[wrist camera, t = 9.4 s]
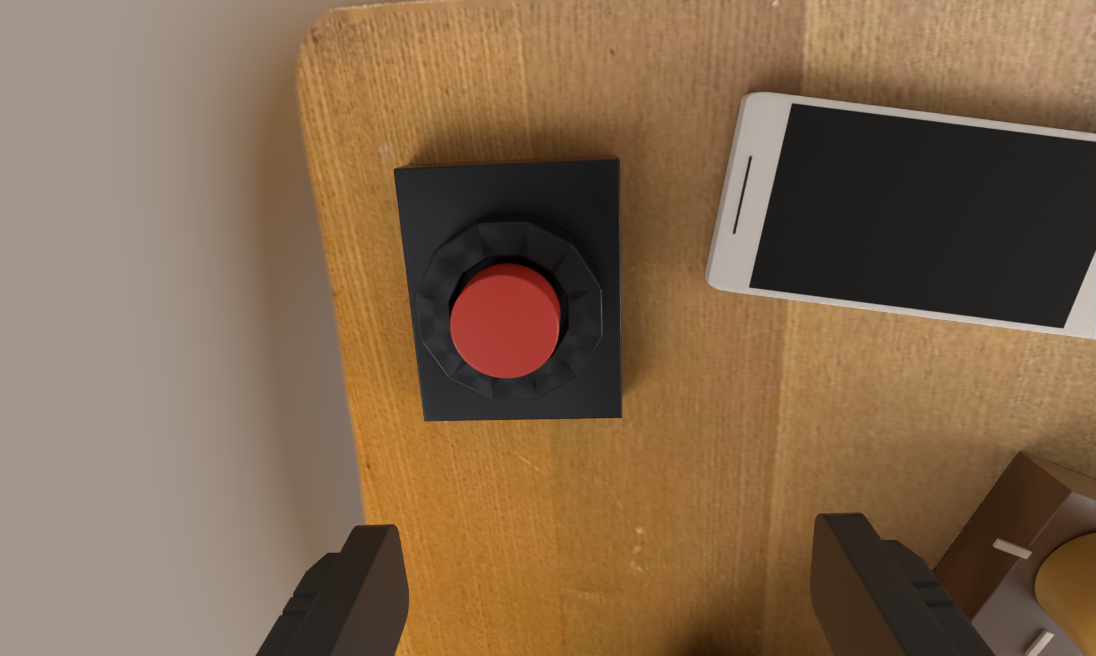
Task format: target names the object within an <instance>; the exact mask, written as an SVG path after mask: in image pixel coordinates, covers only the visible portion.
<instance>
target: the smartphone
mask: <svg viewBox="0 0 1096 656" xmlns="http://www.w3.org/2000/svg"><path fill="white" fill-rule="evenodd" d="M705 279H706V280H707V282H708V283H709V284H710V285H711V286H712V287H714V288H716V289H718V290H723V291H729V292H736V293H744V294H752V295H759V296H767V297H775V298H782V299H790V300H798V301H805V302H813V303H821V304H828V305H836V306H844V307H851V308H859V309H867V310H874V311H882V312H890V313H897V314H905V315H913V316H920V317H928V318H936V319H943V320H951V321H959V322H966V323H974V324H982V325H989V326H997V327H1005V328H1012V329H1020V330H1028V331H1035V332H1043V333H1051V334H1058V335H1066V336H1074V337H1081V338H1089V339H1096V133H1088V132H1080V131H1072V130H1064V129H1057V128H1049V127H1041V126H1033V125H1025V124H1017V123H1009V122H1001V121H993V120H986V119H978V118H970V117H962V116H954V115H946V114H938V113H930V112H923V111H915V110H907V109H899V108H891V107H883V106H875V105H867V104H859V103H852V102H844V101H836V100H828V99H820V98H812V97H804V96H796V95H789V94H781V93H773V92H754V93H749V94H747V95H745V96H743V98H742V99H741V104H740V108H739V113H738V118H737V123H736V128H735V132H734V137H733V142H732V147H731V151H730V156H729V161H728V166H727V171H726V175H725V180H724V185H723V190H722V195H721V199H720V204H719V209H718V214H717V218H716V223H715V228H714V233H713V238H712V242H711V247H710V252H709V257H708V262H707V266H706V271H705Z"/></svg>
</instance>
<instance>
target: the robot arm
mask: <svg viewBox="0 0 1096 656" xmlns="http://www.w3.org/2000/svg"><path fill="white" fill-rule="evenodd" d="M810 588H811V597H812V602H813V606H814V610H815V613H816V616H817V618H818V621H819V623H820V625H821V627H822V629H823V631H824V634H825V636H826V638H827V640H828V642H829V645H830V647H831V649H832V651H833V653H834V655H835V656H996V655H995V654H994V653H993V651H992V650H991V649H990V647H989V646H988V645H987V643H986V642H985V641H984V639H983V638H982V637H981V635H980V634H979V633H978V631H977V630H976V629H975V627H974V626H973V625H972V623H971V622H970V621H969V619H968V618H967V617H966V616H965V614H964V613H963V612H962V610H961V609H960V608H959V606H958V605H955V603H954V600H953V598H952V597H951V596H950V594H949V593H948V592H947V590H946V589H945V588H944V586H941V585H940V581H939V580H938V578H937V577H936V576H935V574H934V573H933V572H932V570H931V569H930V568H929V567H928V565H927V564H926V563H925V561H924V560H923V559H922V558H921V557H919V556H918V555H916V554H915V553H914V552H912V551H911V550H909V549H908V548H907V547H905V546H904V545H902V544H901V543H900V542H898V541H897V540H881V538H880V537H879V535H878V534H877V533H876V531H875V530H874V528H873V527H872V525H871V524H870V522H869V521H868V520H867V518H866V517H865V516H864V515H863V514H862V513H824V514H818V515H817V516H816V519H815V525H814V538H813V551H812V564H811V577H810ZM408 607H409V588H408V582H407V576H406V571H405V565H404V559H403V554H402V548H401V542H400V537H399V532H398V529H397V527H396V526H395V525H394V524H390V525H358V526H355V527H354V529H353V530H352V532H351V533H350V535H349V537H348V539H347V541H346V543H345V544H344V546H343V548H342V550H341V552H340V553H327V554H326V555H325V556H324V557H322V558H321V559H320V560H319V561H318V562H317V563H316V564H314V565H313V566H312V567H311V568H310V569H309V570H308V571H306V573H305V574H304V576H303V578H302V579H301V581H300V583H299V585H298V586H297V588H296V590H295V591H294V593H293V597H291V598H290V600H289V601H288V603H287V604H286V606H285V608H284V609H283V614H282V616H279V618H278V619H277V621H276V623H275V624H274V626H273V628H272V629H271V631H270V633H269V634H268V636H267V638H266V639H265V641H264V643H263V644H262V646H261V648H260V649H259V651H258V653H257V654H256V656H394V655H395V652H396V649H397V646H398V643H399V640H400V638H401V635H402V632H403V629H404V626H405V623H406V619H407V614H408Z"/></svg>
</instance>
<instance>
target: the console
mask: <svg viewBox="0 0 1096 656" xmlns="http://www.w3.org/2000/svg"><path fill="white" fill-rule="evenodd" d="M1091 533H1096V479H1094V478H1091V477H1089V476H1086V475H1083V474H1081V473H1078V472H1075V471H1073V470H1070V469H1067V468H1065V467H1062V466H1059V465H1057V464H1054V463H1051V462H1049V461H1046V460H1043V459H1041V458H1038V457H1035V456H1033V455H1030V454H1027V453H1025V452H1022V451H1020V452H1019V453H1018V455H1017V456H1016V457H1015V459H1014V460H1013V462H1012V463H1011V464H1010V466H1009V467H1008V468H1007V470H1006V471H1005V473H1004V474H1003V475H1002V477H1001V478H1000V480H999V481H998V482H997V484H996V485H995V487H994V488H993V489H992V491H991V492H990V493H989V495H988V496H987V498H986V499H985V500H984V502H983V503H982V505H981V506H980V507H979V509H978V510H977V512H976V513H975V514H974V516H973V517H972V519H971V520H970V521H969V523H968V524H967V525H966V527H965V528H964V530H963V531H962V532H961V534H960V535H959V537H958V538H957V539H956V541H955V542H954V544H953V545H952V546H951V548H950V549H949V550H948V552H947V553H946V555H945V556H944V557H943V559H942V560H941V562H940V563H939V564H938V566H937V567H936V569H935V570H934V571H933V573H934V574H935V576H936V577H937V578H938V580H939V581H940V585H941V586H944V588H945V589H946V590H947V592H948V593H949V594H950V596H951V597H952V598H953V600H954V603H955V605H958V606H959V608H960V609H961V610H962V612H963V613H964V614H965V616H966V617H967V618H968V619H969V621H970V622H971V623H972V625H973V626H974V627H975V629H976V630H977V631H978V633H979V634H980V635H981V637H982V638H983V639H984V641H985V642H986V643H987V645H988V646H989V647H990V649H991V650H992V651H993V653H994V654H995V655H996V656H1086V655H1085V654H1084V653H1083V652H1082V651H1081V650H1080V649H1079V648H1078V647H1077V646H1076V644H1075V643H1074V642H1073V641H1072V640H1071V639H1070V638H1069V637H1068V636H1067V635H1066V634H1065V633H1064V631H1063V630H1062V629H1061V628H1060V627H1059V626H1058V625H1057V624H1056V623H1055V622H1054V621H1053V619H1052V618H1051V617H1050V616H1049V615H1048V614H1047V613H1046V612H1045V611H1044V610H1043V609H1042V607H1041V606H1040V604H1039V602H1038V600H1037V598H1036V594H1035V579H1036V575H1037V573H1038V571H1039V569H1040V567H1041V565H1042V564H1043V562H1044V561H1045V560H1046V558H1047V557H1048V556H1049V555H1050V554H1051V553H1052V552H1054V551H1055V550H1056V549H1057V548H1059V547H1060V546H1062V545H1063V544H1065V543H1067V542H1068V541H1070V540H1072V539H1075V538H1077V537H1080V536H1083V535H1086V534H1091Z"/></svg>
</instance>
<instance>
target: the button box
mask: <svg viewBox="0 0 1096 656" xmlns="http://www.w3.org/2000/svg"><path fill="white" fill-rule="evenodd" d="M394 176H395V185H396V193H397V201H398V209H399V217H400V225H401V234H402V242H403V250H404V258H405V266H406V275H407V283H408V291H409V299H410V307H411V315H412V324H413V332H414V340H415V348H416V356H417V365H418V373H419V381H420V389H421V397H422V406H423V414H424V420H425V421H464V420H522V419H581V418H622V342H621V236H620V160H619V158H618V157H617V156H595V157H572V158H550V159H527V160H504V161H482V162H459V163H437V164H414V165H405V166H402V167H398V168H395V169H394ZM502 263H514V264H520V265H524V266H527V267H529V268H531V269H533V270H535V271H537V272H538V273H540V274H541V275H542V276H544V277H545V278H546V279H547V280H548V281H549V283H550V284H551V285H552V287H553V288H554V290H555V292H556V294H557V297H558V299H559V303H560V310H561V316H560V326H559V335H558V340H557V343H556V346H555V349H554V351H553V353H552V354H551V356H550V357H549V358H548V360H547V361H546V362H545V363H544V364H543V365H542V366H541V367H539V368H538V369H536V370H535V371H533V372H531V373H529V374H526V375H523V376H520V377H515V378H498V377H493V376H490V375H486V374H484V373H482V372H480V371H478V370H476V369H475V368H473V367H472V366H471V365H469V364H468V363H467V362H466V361H465V360H464V359H463V358H462V356H461V355H460V354H459V352H458V351H457V349H456V347H455V345H454V343H453V340H452V336H451V331H450V318H451V313H452V309H453V306H454V304H455V302H456V300H457V298H458V297H459V295H460V294H461V292H462V291H463V289H464V288H465V286H466V285H467V283H468V282H469V281H470V280H471V279H472V278H473V277H474V276H475V275H476V274H477V273H478V272H480V271H481V270H483V269H485V268H487V267H490V266H492V265H496V264H502Z"/></svg>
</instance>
